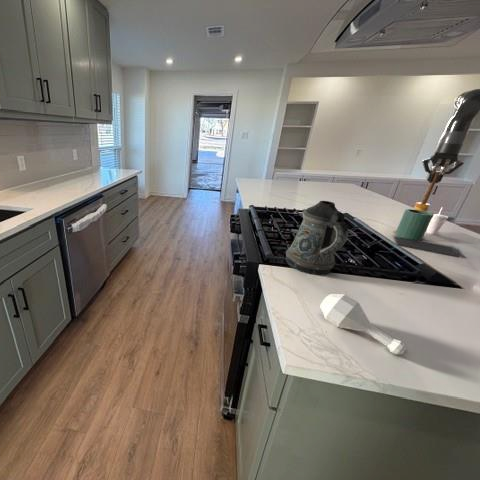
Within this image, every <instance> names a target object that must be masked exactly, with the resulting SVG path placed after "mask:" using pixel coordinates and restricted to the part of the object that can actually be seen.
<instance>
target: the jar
mask: <svg viewBox="0 0 480 480" xmlns="http://www.w3.org/2000/svg"><path fill="white" fill-rule="evenodd" d="M434 214H435V213H432V212H430V211H421V210H416V209H414V208H406V209H405V210H404V212H403V214H402V216H401V218H400V221H399V223H398V226H397V228H396V230H395V233H394V235H395V236H396V237H401V238H406V239H412V240H417V241H422V240H423V238H424V236H425V234H426V233H427V228H428V225H429V223H430V221H431V219H432V217H433V215H434Z"/></svg>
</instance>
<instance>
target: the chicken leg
mask: <svg viewBox="0 0 480 480" xmlns="http://www.w3.org/2000/svg"><path fill="white" fill-rule="evenodd" d="M319 307H320V309H321V311H322V314H323V316H324V318H325V319H326V320H327V321H328V322H329V323H331V324H333V326H335V327H337V328H341V329H347V330H353V331H359V332H364V333H366V334H367V335H369V336H370V337H372V338H374V339H375V340H376V341H378V342H379V343H381V344H382V345H384V346H385V347H386V348H387V349H388V350H389V352H390V353H392V354H393V355H403V354H404V353H405V352H406V344H405V343H404V342H403V341H402V340H399V339H395V338H393V337H392V336H390V335H388V334H387V333H385V332H384V331H382V330H381V329H379V328H377V327H376V326H375V325H373V324H372V323H371V322H370V320H369V318H368V316H367V314H366V313H365V311H364V310H363V308H362V305H360V303H359V301H357V300H356V299H354V298H353V297H351V296H349V295H347V294H345V293H329V294H328V295H326V297H324V299H323V300H322V301H321V303H320V305H319Z"/></svg>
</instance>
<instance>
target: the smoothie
mask: <svg viewBox="0 0 480 480" xmlns="http://www.w3.org/2000/svg"><path fill="white" fill-rule="evenodd" d="M440 207H441V208H440V210H439V212H438V213H433V214H434V215H433V217H432V219H431V221H430V223H429V225H428V228H427V230H426V233H427V234H430V235H437V233H438V232H439V231H440V229H441V228H442V227H443V225H444V224H445V223H446V221H447V220H448V219H449V216H447V215H445V214H441V213H442V210H443V209H444V207H443V206H440Z"/></svg>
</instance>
